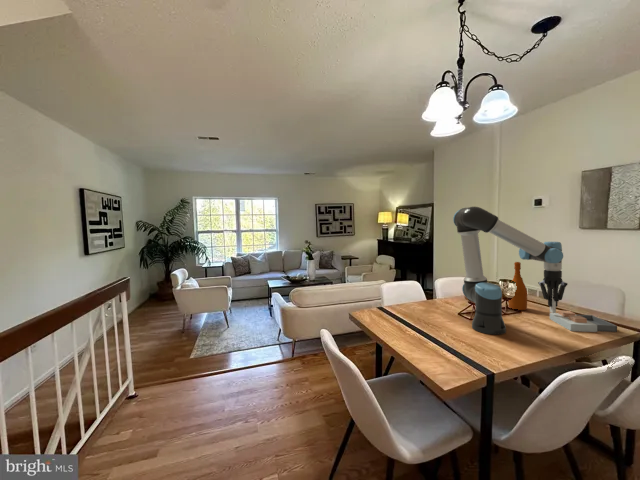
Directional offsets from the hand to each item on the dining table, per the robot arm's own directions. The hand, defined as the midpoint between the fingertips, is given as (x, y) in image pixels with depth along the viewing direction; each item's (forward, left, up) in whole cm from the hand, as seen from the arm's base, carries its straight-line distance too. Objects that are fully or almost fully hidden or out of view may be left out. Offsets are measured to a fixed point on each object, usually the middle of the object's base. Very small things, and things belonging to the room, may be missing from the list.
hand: (552, 312), depth 151 cm
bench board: (+6, -5, -5) cm, 9 cm away
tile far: (+7, 0, -2) cm, 7 cm away
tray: (+16, -4, -5) cm, 18 cm away
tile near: (+7, -9, -2) cm, 11 cm away
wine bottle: (-7, +23, -5) cm, 25 cm away
